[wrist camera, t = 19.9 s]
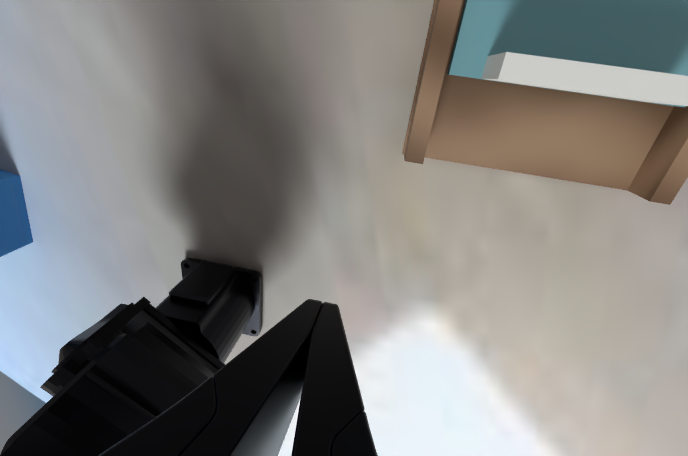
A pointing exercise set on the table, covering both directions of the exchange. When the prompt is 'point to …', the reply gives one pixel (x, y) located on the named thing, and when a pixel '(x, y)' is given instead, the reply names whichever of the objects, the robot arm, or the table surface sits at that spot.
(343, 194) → the table surface
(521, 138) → the dock
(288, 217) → the table surface
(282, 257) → the table surface
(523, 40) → the tray
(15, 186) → the perfume bottle
